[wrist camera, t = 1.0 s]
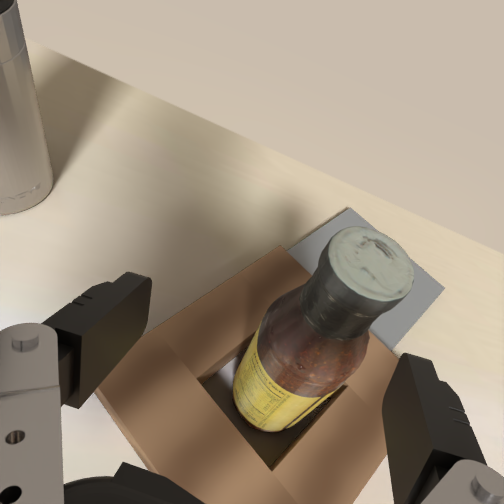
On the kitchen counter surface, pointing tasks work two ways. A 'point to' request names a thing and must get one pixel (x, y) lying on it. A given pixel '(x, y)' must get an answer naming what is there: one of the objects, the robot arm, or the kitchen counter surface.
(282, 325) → the sauce bottle
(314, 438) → the seat block
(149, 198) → the kitchen counter surface
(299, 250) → the grey mat
